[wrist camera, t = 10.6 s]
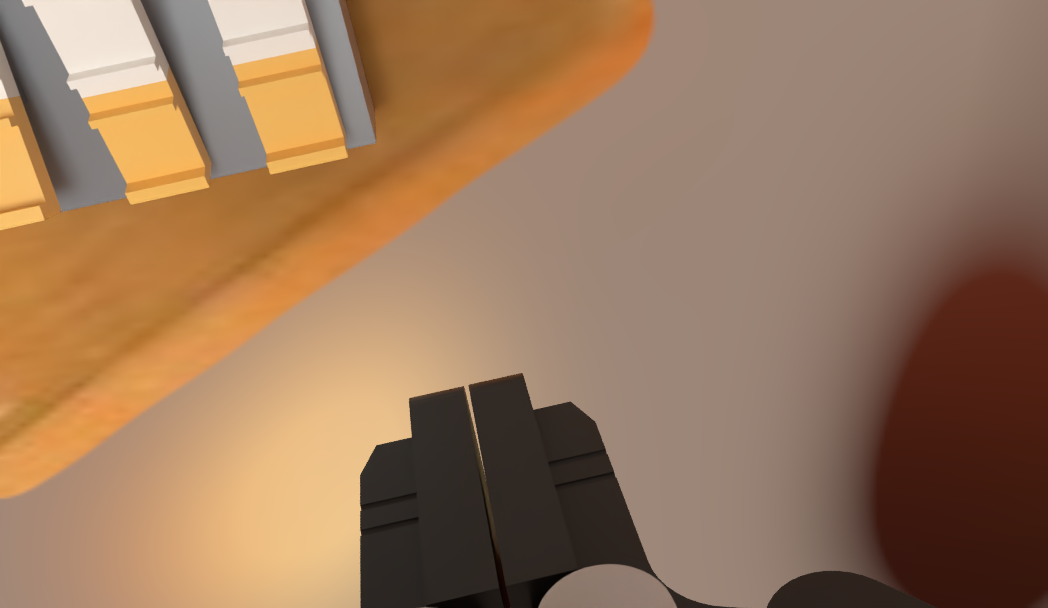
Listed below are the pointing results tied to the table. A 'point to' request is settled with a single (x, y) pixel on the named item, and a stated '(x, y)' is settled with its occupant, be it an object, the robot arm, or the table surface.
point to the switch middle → (128, 94)
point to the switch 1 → (20, 161)
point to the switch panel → (201, 77)
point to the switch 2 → (282, 80)
